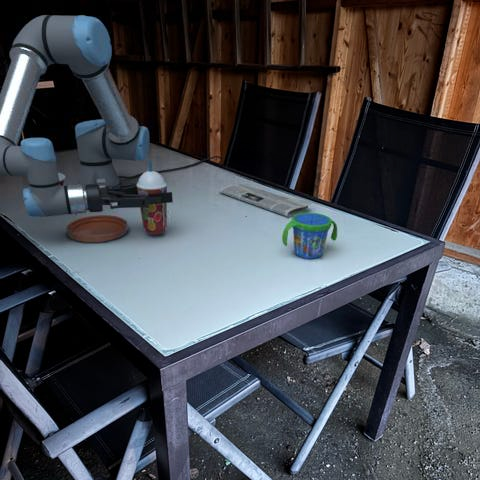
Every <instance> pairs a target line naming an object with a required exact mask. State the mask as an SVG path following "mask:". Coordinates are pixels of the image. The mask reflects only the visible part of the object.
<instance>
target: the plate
mask: <svg viewBox="0 0 480 480" xmlns="http://www.w3.org/2000/svg"><path fill="white" fill-rule="evenodd" d="M66 231H67V236H68V237H69V238H70V239H71V240H75V241H78V242H83V243H102V242H107V241H113V240H116V239H119V238H121V237H123V236H124V235H125V234H127V232H128V231H129V227H128V222H127V220H126V219H124V218H123V217H120V216H117V215H111V214H109V215H108V214H106V215H105V214H96V215H89V216H83V217H80V218H76V219H74V220H72V221H70V222H69V223H68V224H67V225H66Z"/></svg>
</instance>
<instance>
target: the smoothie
mask: <svg viewBox="0 0 480 480" xmlns="http://www.w3.org/2000/svg"><path fill="white" fill-rule="evenodd" d="M148 169H149V170H147V171H145V172H142V173H143V174H142V175H140V176H139V178H138V181H137V182H136V183H137V189H138V195H148V194H150V193H164V192H168V183H167V182H166V180H165V178H164V176H163V175H162V174H161V173H160V172H159V173H158V172H155V171H156V170H155V171H154V170H153V168H152V160H148ZM167 207H168V203H158V204H149V208H147V207H140V208H139V209H140V215H141V222H142V228H143V229H144V231H145V232H146V233H147V234H150V235H160V234H162V233H164V232H165V231H166V228H167V226H168V224H167V223H168V216H167V213H168V208H167Z"/></svg>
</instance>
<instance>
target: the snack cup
mask: <svg viewBox="0 0 480 480" xmlns="http://www.w3.org/2000/svg"><path fill="white" fill-rule="evenodd" d="M332 226H333V229H332V232H331V235H330V239H331V240H332V241H336V240H337V238H338V226H337V223H336V222H335V221H334V220H333V219H332V218H331V217H329V216H327V215H325V214H323V213H318V212H303V213H299V214H296V215H294V216H291V220H290V221H289V222H288V223H287V224H285V227H284V229H283V231H282V237H281V241H282V244H283V246H285V247H287V246H288V237H289V236H288V235H289V230H291V228H292V230H293V249H294V253H295V255H296V256H299V257H300V258H304V259H306V260H309V259H316V258H320V257H321V255H322V254H323V252H324V248H325V246H326V241H327V238H328V233H329V230H330V229H331V227H332Z"/></svg>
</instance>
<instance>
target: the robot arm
mask: <svg viewBox="0 0 480 480" xmlns="http://www.w3.org/2000/svg"><path fill="white" fill-rule="evenodd" d="M112 53H113V49H112V44H111V37H110V35H109V32H108V29H107V28H106V26H105V25H104V23H103V22H102V21H101V20H100V19H98V18H97V17H95V16H86V15H83V14H80V15H50V14H44V15H40V16H36V17H35V18H33V19H31V20H30V21H29V22H28V23H26V24H25V25H24V27H22V29H21V30H20V31H19V32H18V34H17V35H16V37H15V38H14V40H13V42H12V45H11V47H10V51H9V58H10V60H11V61H10V64H9V67H8V70H7V73H6V76H5V79H4V82H3V85H2V87H1V88H2V89H1V91H0V176H8V177H9V176H11V177H20V178H27V180H28V187H25V188H24V189H22V197H23V203H24V208H25V211H26V213H27V215H28V216H29V217H33V218H35V217H53V216H54V217H55V216H64V215H75V216H79V215H80V214H86V213H87V211H88V212H89V213H90V214H91V213H92V214H93V213H101V212H103V210H104V209H103V208H104V207H103V206H109V209H110V210H115V209H135V208H139V209H140V207H147V208H149V204H158V203H167V204H170V203H174V202H173V200H174V199H173V192H172V191H167V192H164V193H150V194H148V195H138V189H137V183H138V182H135V183H127V184H121V183H120V179H127V180H128V179H134V178H137V177H140V176H141V175H142V174H143V173H144V172H141V173H136V174H135V175H132V176H126V175H125V176H124V175H118V173H117V171H116V169H115V167H114V164H113V160H123V161H133V162H137V161H144V160H145V159H147V156H148V154H149V150H150V140H151V139H150V131H149V128H148V127H146V126H144V125H142V126H140V125H139V122H138V121H137V120H138V119H136V118H135V117H133V116H132V115H130V113H129V111H128V108H127V106H126V104H125V101H124V100H123V98H122V95H121V92H120V91H119V89H118V86H117V84H116V82H115V79H114V77H113V75H112V73H111V71H110V68H109V66H110V61H111V59H112V56H113V55H112ZM54 64H56V65H57V64H59V65H68V67H69V69H70V70H71V72H72V74H73V75H74V76H75V77H76V78H78V79H80V80H82V82H83V84H84V85H85V88H86V90H87V91H88V94H89V95H90V97H91V99H92V101H93V103H94V105H95V106H96V108H97V110H98V112H99V114H100V117H101V118H102V119H95V120H94V119H92V120H86V121H82V122H79V123H77V124H76V125H75V127H74V131H75V139H76V140H75V141H76V147H77V152H78V158H79V165H80V168H79V174H78V181H77V184H69V185H63V186H60V181H59V176H58V173H59V169H58V164H57V156H56V153H55V150H54V145H53V142H52V141H51V140H50V139H49V138H45V137H30V138H29V137H28V138H25V139H22V140H21V136H22V133H23V130H24V127H25V125H26V121H27V118H28V115H29V112H30V109H31V105H32V103H33V99H34V97H35V94H36V90H37V87H38V85H39V81H40V77H41V76H43V75H45V74H46V72H47V69H48V67H49V66H50V65H54ZM20 140H21V142H20ZM19 142H20V145H19ZM216 158H218V159H219V160H222V157H221V156H219V155H213V156H211V157H208V158H205V159H202V160H199V161H197V162H193V163H191V164H188V165H184V166H180V167H174V168H168V169H162V170H155V172H158V173H159V174H160V173H165V172H172V171H177V170H181V169H186V168H190V167H194V166H195V165H198V164H201V163H203V162H205V161H206V162H207V161H209V160H213V159H216Z"/></svg>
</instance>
